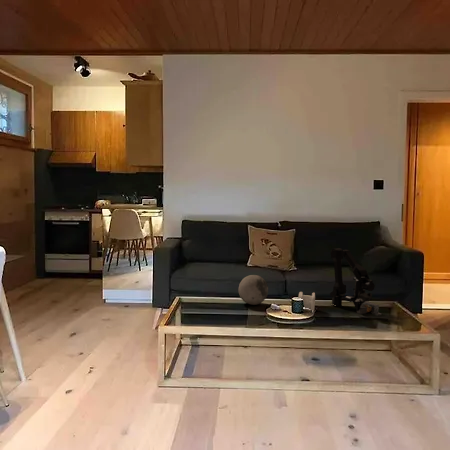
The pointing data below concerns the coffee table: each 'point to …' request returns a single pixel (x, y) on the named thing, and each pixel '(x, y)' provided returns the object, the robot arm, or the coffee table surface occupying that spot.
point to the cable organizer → (308, 300)
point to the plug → (364, 310)
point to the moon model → (253, 289)
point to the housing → (372, 307)
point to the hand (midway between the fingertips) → (357, 311)
